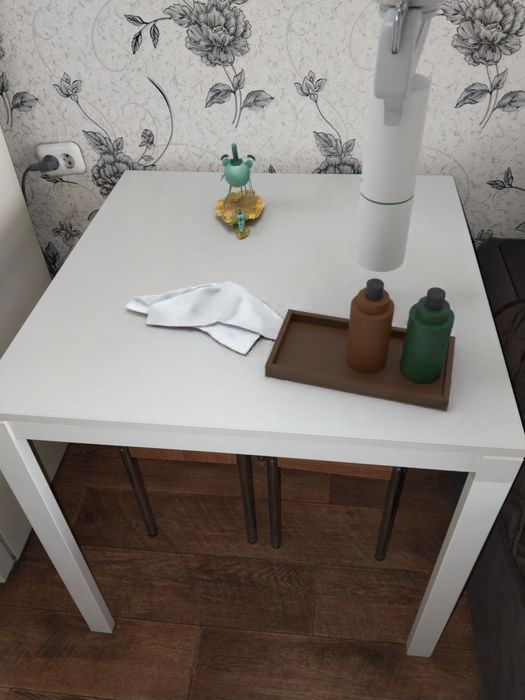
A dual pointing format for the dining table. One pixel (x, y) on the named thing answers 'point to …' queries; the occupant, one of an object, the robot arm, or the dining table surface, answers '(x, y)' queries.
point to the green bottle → (427, 337)
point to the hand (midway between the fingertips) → (396, 109)
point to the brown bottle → (369, 328)
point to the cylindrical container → (389, 178)
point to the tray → (333, 371)
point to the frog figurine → (238, 194)
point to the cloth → (213, 313)
